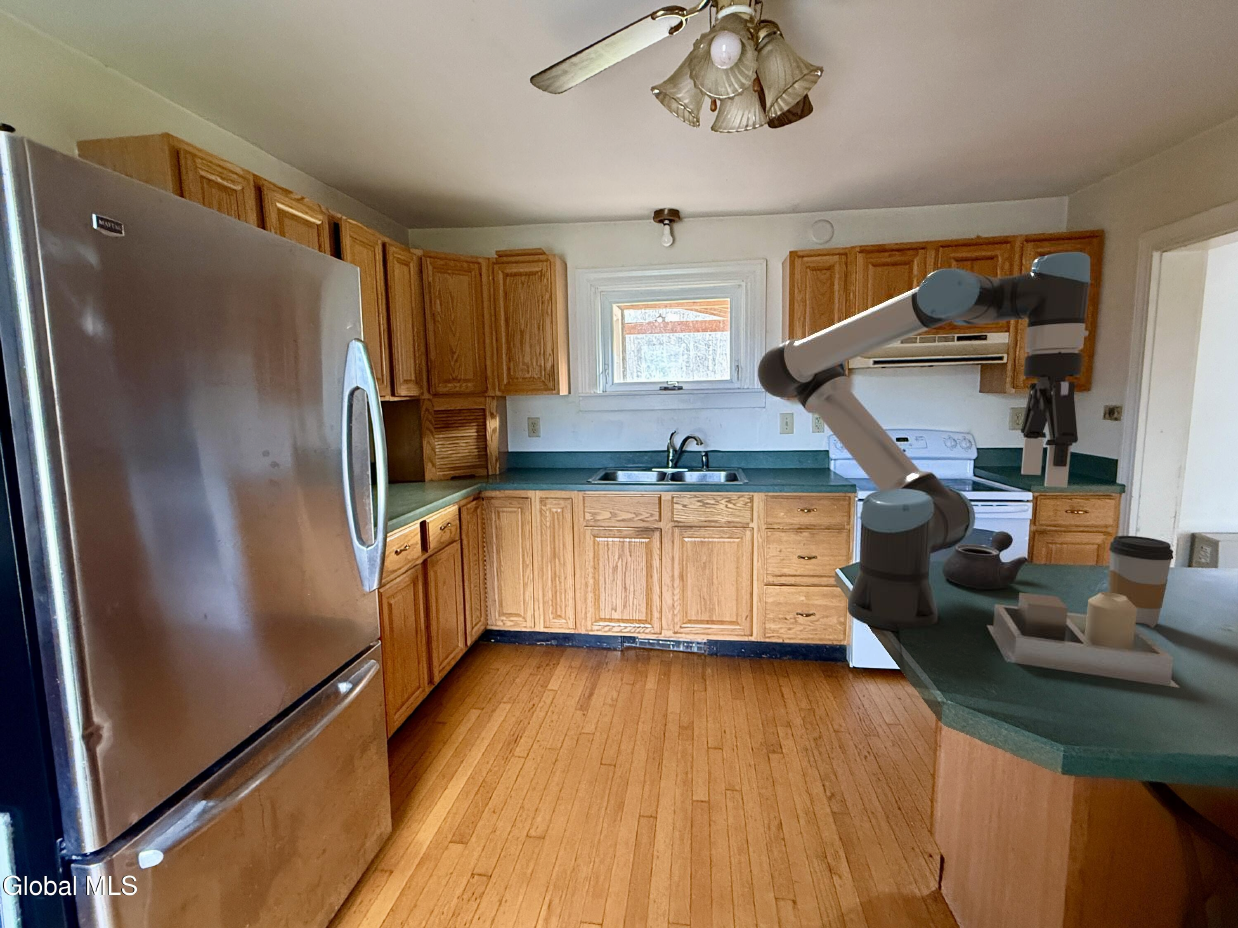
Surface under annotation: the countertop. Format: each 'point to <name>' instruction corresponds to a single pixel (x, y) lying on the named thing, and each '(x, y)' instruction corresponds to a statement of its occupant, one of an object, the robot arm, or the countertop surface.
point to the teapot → (983, 564)
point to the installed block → (1042, 616)
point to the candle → (1111, 621)
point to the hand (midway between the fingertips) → (1042, 480)
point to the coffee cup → (1140, 573)
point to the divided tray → (1081, 651)
